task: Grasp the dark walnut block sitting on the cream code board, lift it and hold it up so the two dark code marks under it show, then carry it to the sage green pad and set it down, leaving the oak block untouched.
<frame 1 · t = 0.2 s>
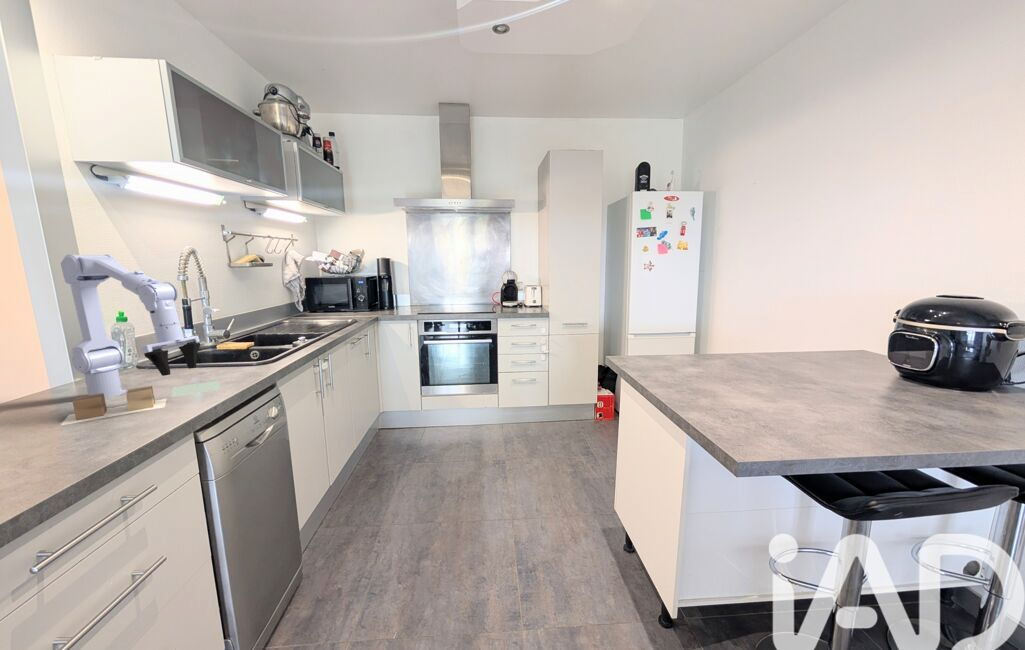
hand: (179, 371, 112), 10 cm above the countertop, tool pointing down, fingers open, 7 cm apart
sage pad: (196, 390, 127), on the countertop
code board: (118, 412, 109), on the countertop
oak block: (142, 406, 112), point 1 cm above the countertop, touching code board
walnut block: (92, 415, 105), point 1 cm above the countertop, touching code board
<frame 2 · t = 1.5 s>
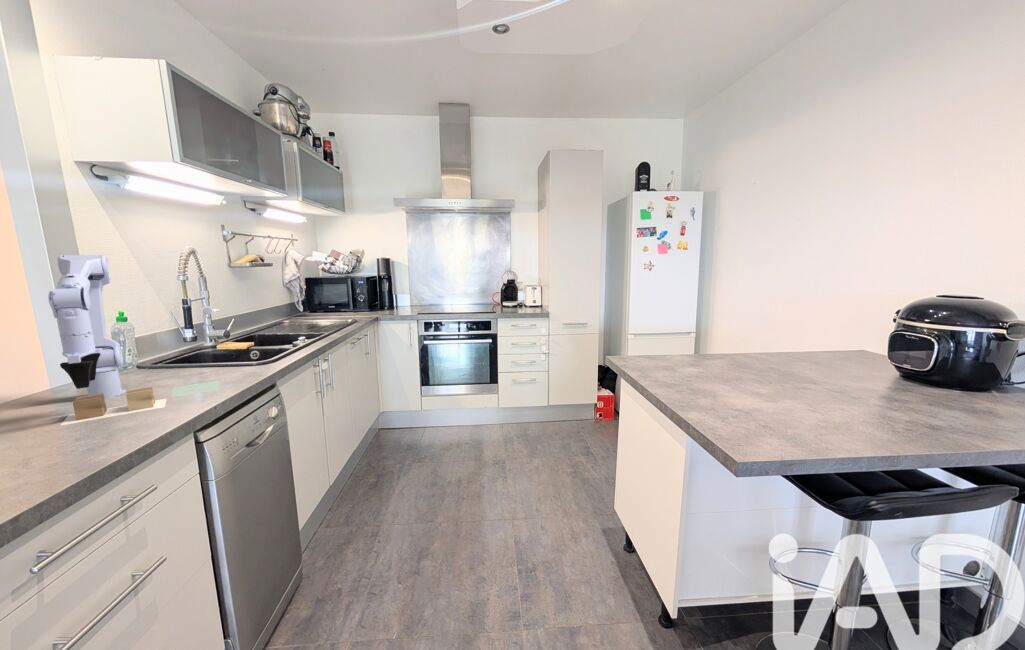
hand: (86, 384, 104), 9 cm above the countertop, tool pointing down, fingers open, 7 cm apart
nothing on the countertop moved.
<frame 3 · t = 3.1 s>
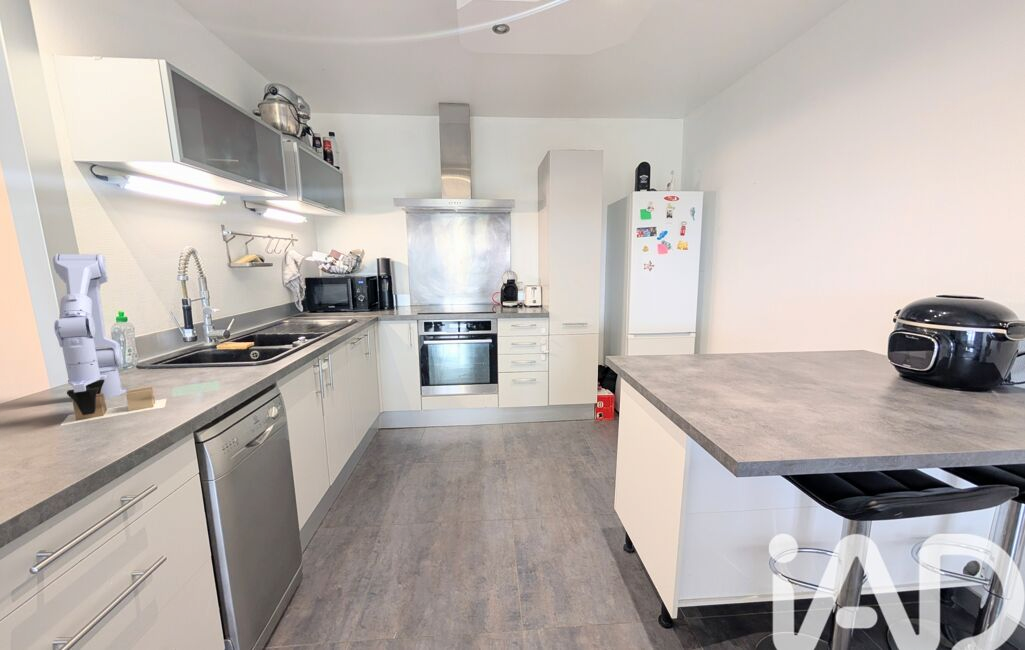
hand: (91, 410, 105), 2 cm above the countertop, tool pointing down, fingers closed on walnut block, 5 cm apart
walnut block: (92, 415, 105), point 1 cm above the countertop, touching code board, gripper
everything else where it was.
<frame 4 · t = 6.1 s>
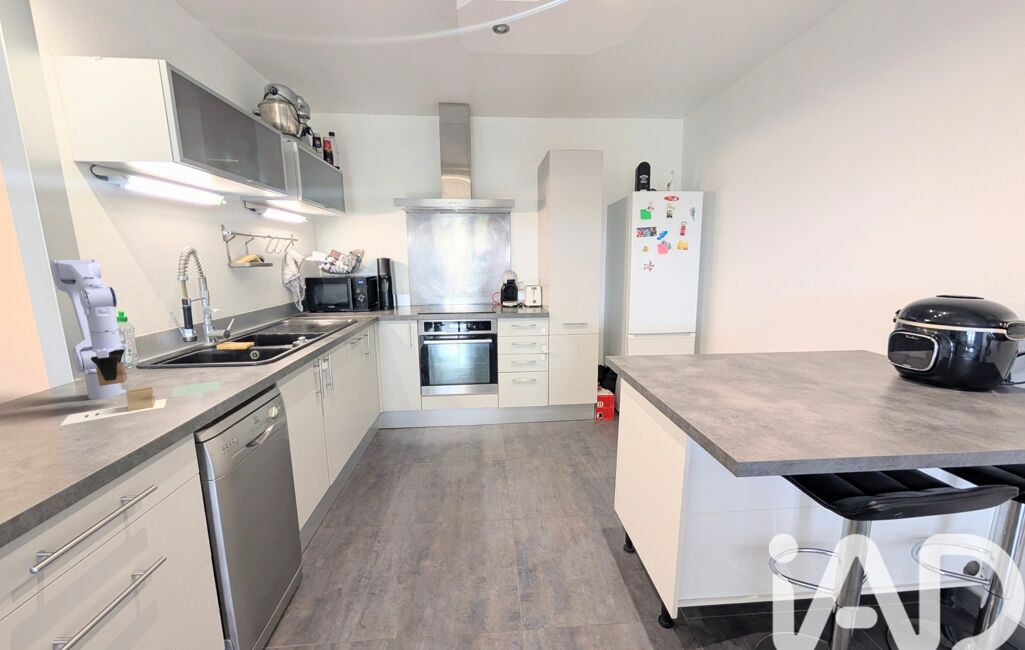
hand: (112, 377, 111), 9 cm above the countertop, tool pointing down, fingers closed on walnut block, 5 cm apart
walnut block: (113, 382, 112), point 8 cm above the countertop, touching gripper
everything else where it was.
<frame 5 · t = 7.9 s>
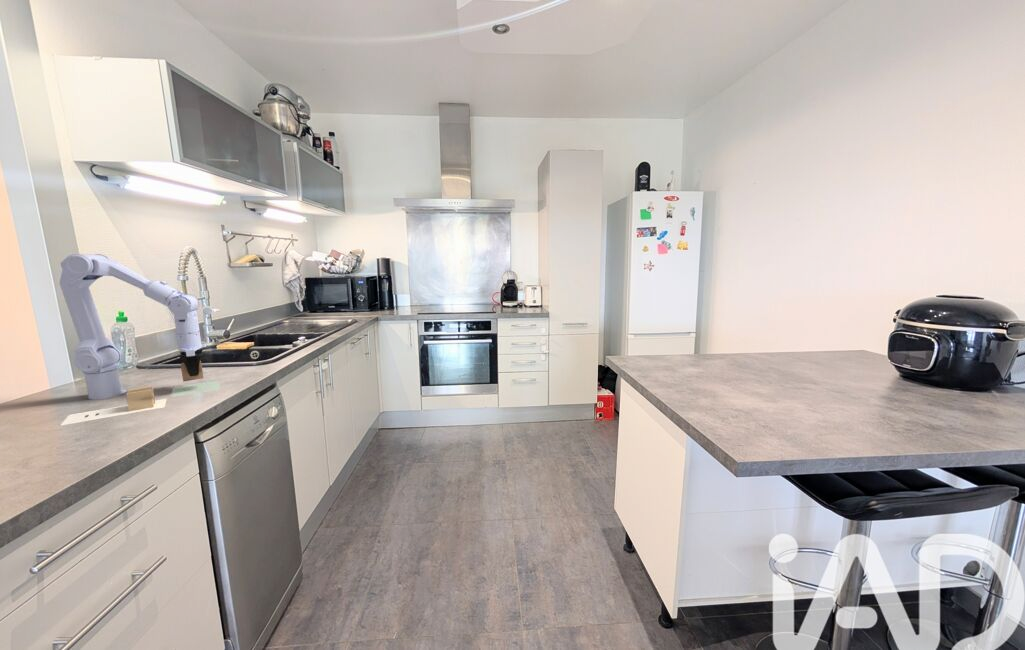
hand: (194, 373, 127), 6 cm above the countertop, tool pointing down, fingers closed on walnut block, 5 cm apart
walnut block: (193, 378, 127), point 4 cm above the countertop, touching gripper
everything else where it was.
when the fingers open (3 cm above the countertop, at t = 9.3 s): walnut block stays where it is, resting on sage pad.
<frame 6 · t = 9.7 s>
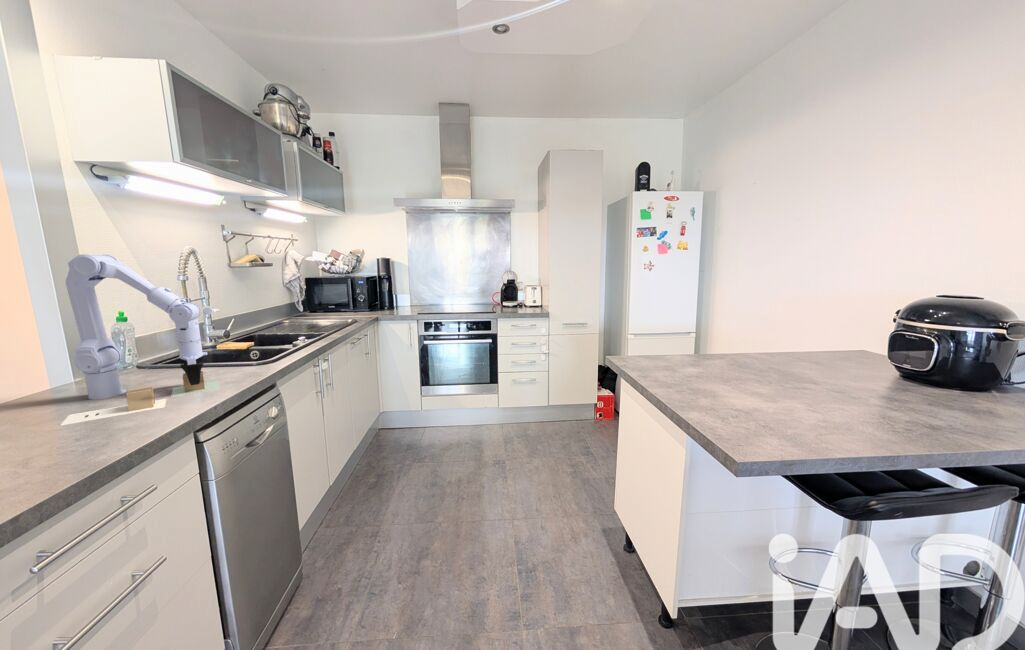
hand: (195, 381, 127), 3 cm above the countertop, tool pointing down, fingers open, 7 cm apart
walnut block: (195, 388, 127), point 1 cm above the countertop, touching sage pad
everything else where it was.
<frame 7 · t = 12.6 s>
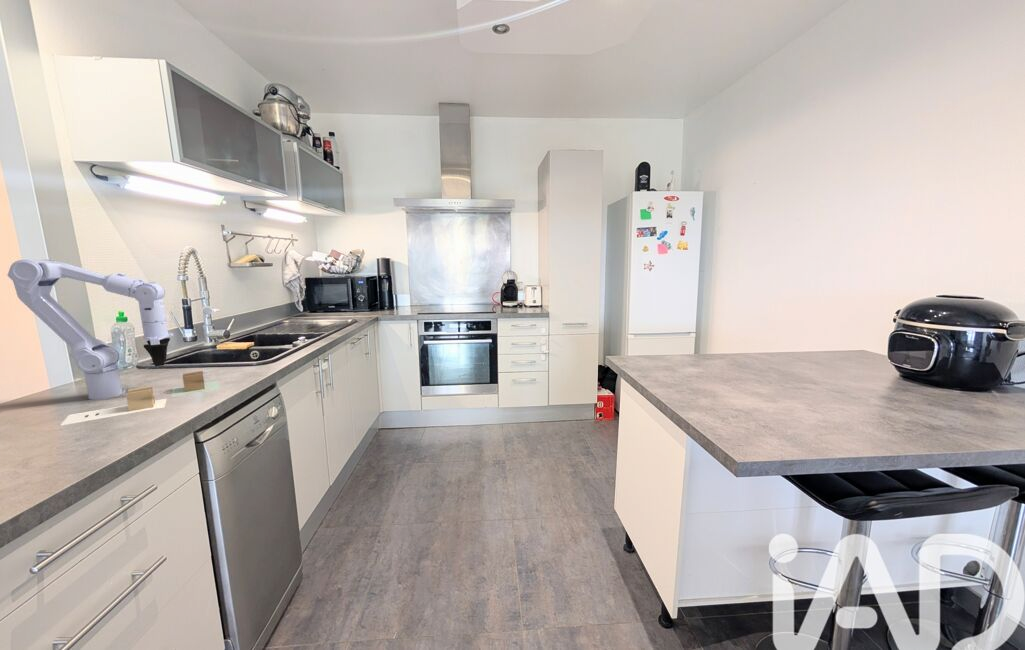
hand: (160, 363, 125), 9 cm above the countertop, tool pointing down, fingers open, 7 cm apart
nothing on the countertop moved.
at the end: walnut block inside the target area on the sage pad (0.3 cm from its centre), point 0.6 cm above the sage pad's base; walnut block tilted 0°; oak block moved 0.0 cm from its start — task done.
